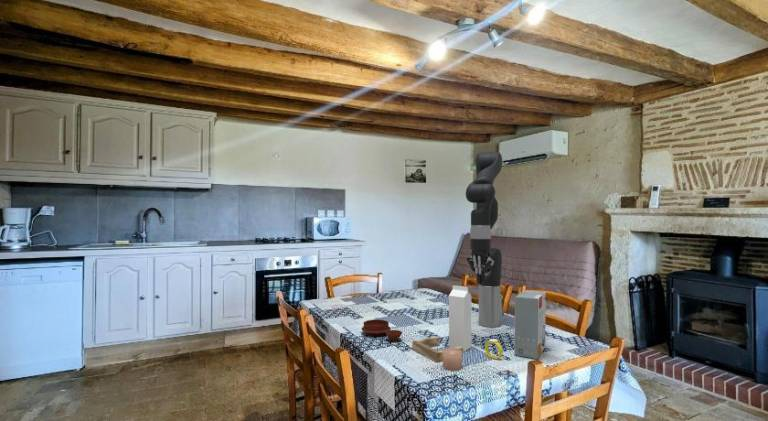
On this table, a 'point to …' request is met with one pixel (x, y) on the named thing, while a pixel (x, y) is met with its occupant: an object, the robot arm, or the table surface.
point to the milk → (460, 318)
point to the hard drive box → (530, 323)
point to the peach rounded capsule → (452, 359)
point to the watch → (497, 346)
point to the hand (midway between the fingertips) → (480, 283)
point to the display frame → (425, 348)
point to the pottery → (381, 329)
